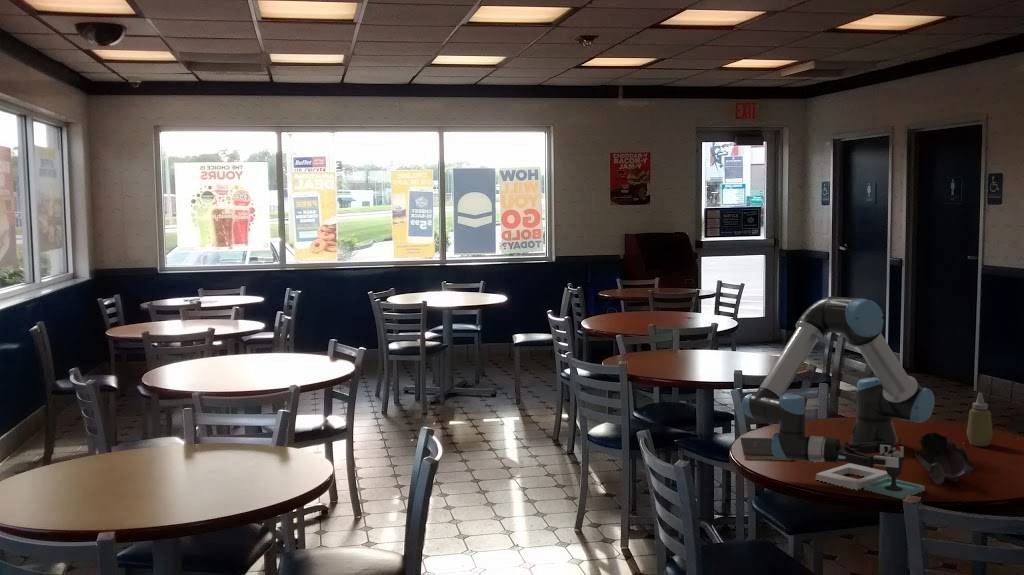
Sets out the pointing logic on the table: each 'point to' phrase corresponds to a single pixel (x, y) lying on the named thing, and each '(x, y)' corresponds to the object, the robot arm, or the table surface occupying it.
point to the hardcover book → (758, 449)
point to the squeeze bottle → (979, 423)
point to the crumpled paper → (943, 458)
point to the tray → (906, 486)
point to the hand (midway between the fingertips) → (901, 457)
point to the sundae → (892, 471)
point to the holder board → (836, 478)
